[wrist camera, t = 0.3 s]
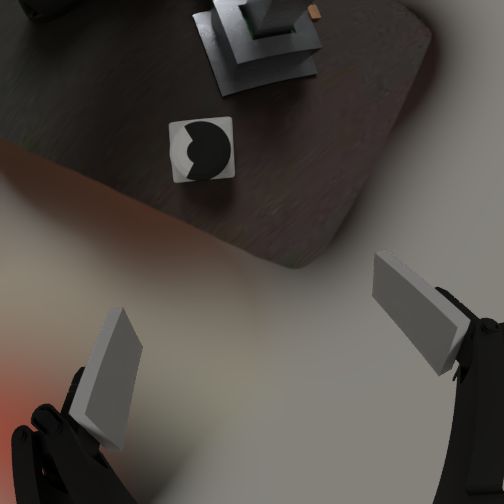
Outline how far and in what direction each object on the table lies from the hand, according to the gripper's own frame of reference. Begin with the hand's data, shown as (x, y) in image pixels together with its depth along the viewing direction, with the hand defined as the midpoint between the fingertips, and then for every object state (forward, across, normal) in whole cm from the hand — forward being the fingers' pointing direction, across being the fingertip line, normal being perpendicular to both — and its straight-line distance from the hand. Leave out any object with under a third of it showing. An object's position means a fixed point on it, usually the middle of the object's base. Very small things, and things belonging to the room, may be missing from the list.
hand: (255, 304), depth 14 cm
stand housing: (+28, +8, +21) cm, 36 cm away
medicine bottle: (+28, -2, +7) cm, 29 cm away
